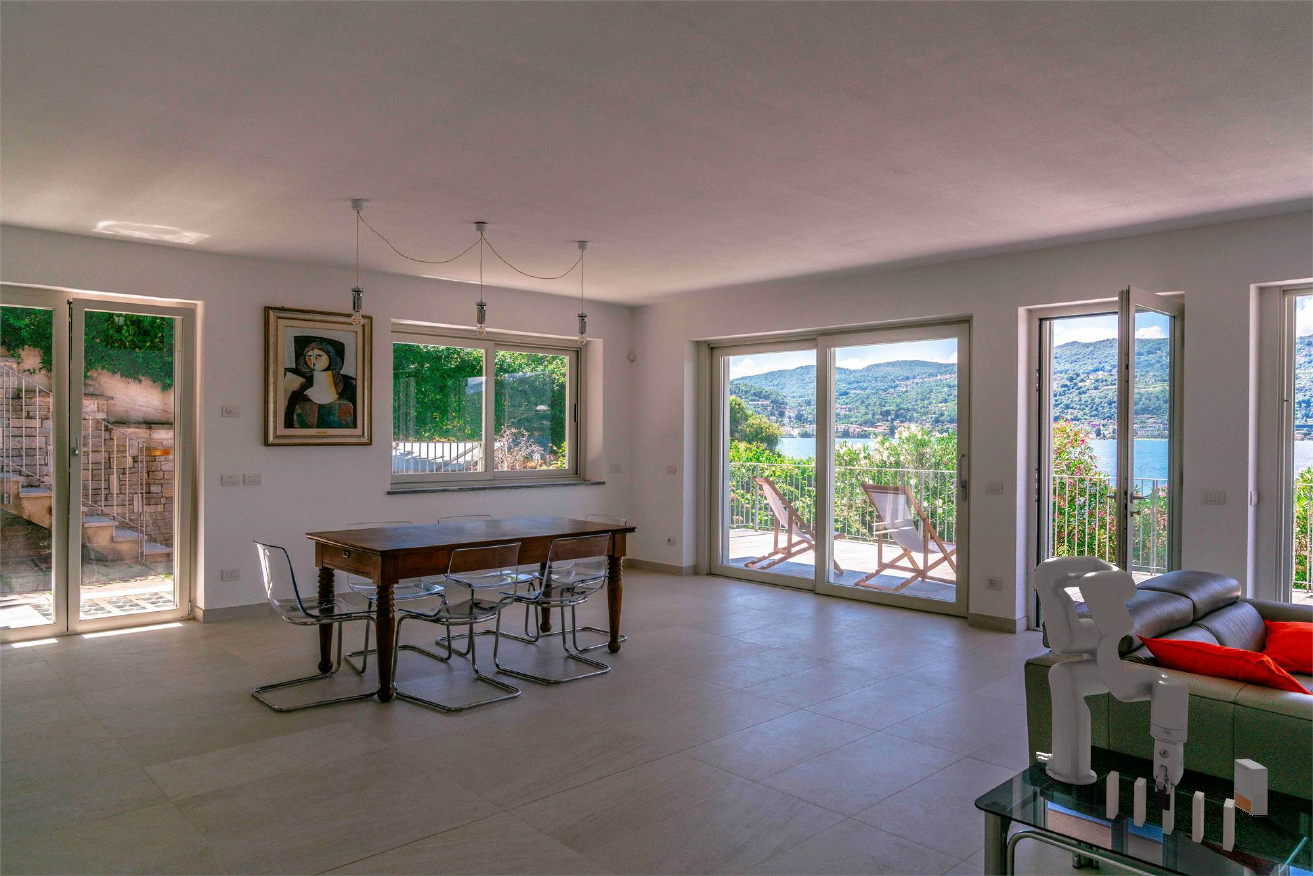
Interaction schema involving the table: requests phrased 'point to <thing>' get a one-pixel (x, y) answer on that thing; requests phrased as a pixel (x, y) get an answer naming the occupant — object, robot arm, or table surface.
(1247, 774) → the skincare box
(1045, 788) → the table surface
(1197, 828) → the domino
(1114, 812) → the domino
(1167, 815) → the domino
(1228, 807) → the domino
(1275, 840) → the table surface
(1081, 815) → the table surface
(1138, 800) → the domino
